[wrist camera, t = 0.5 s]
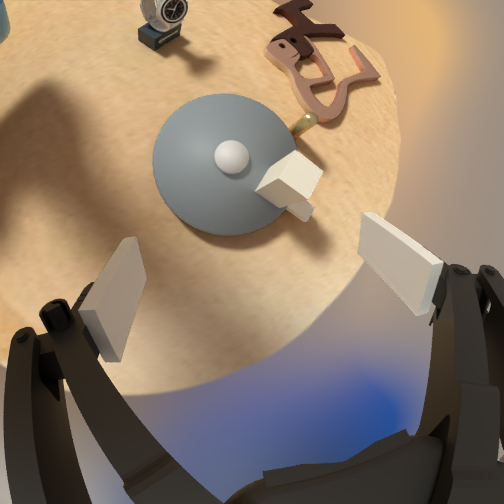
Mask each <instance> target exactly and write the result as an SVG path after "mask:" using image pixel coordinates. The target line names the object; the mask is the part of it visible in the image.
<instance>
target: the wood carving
mask: <svg viewBox="0 0 504 504" xmlns="http://www.w3.org/2000/svg"><path fill="white" fill-rule="evenodd" d="M312 5H313V3H312V2H310V1H309V0H292V1H290V2H288V3H286V4H283V5H281V6H279V7H278V8H276V9H275V10H274V12H273V13H274V14H281V15H282V16H284V17H285V18H286V19H287V20H288V21H289V22H290V23H291V24H292V25H293V27H291V28H289V29H287V30H285V31H284V32H282V33H280V34H278V35H277V36H275V37H274V38H273V39H272V40H271V42H270V43H269V44H268V45H267V46H266V48H265V49H264V51H263V54H264V56H265V57H266V58H267V59H268V60H269V61H270V62H271V63H272V64H273V65H274V66H276V67H277V68H279V69H280V70H281V71H282V72H284V73H285V75H286V76H287V77H288V79H289V81H290V85H291V89H292V92H293V94H294V96H295V98H296V99H297V101H298V103H299V104H300V106H301V107H302V109H303V110H304V111H305V113H307V112H309V111H312V112H315V113H316V114H317V115H318V118H319V122H320V123H327V122H330V121H331V120H333V119H335V118H336V117H337V116H338V115H339V114H340V113H341V112H342V110H343V108H344V105H345V102H346V97H347V87H348V85H350V84H353V83H356V82H363V81H372V80H376V79H378V78H379V77H381V76H380V75H379V73H378V72H377V71H376V69H375V68H374V67H373V66H372V64H371V63H370V62H369V61H368V60H367V58H366V57H365V56H364V55H363V54H362V53H361V51H360V50H359V49H358V48H357V47H356V46H355V45H353V46H352V47H351V48H349V52H350V54H351V56H352V58H353V59H354V61H355V63H356V65H357V66H358V68H359V70H360V71H361V72H360V73H358V74H356V75H353V76H350V77H347V78H345V79H343V80H342V81H341V82H340V83H339V84H338V86H337V92H336V96H335V98H334V101H333V102H332V104H331V105H330V106H329V107H326V106H324V105H323V104H321V103H320V102H319V101H318V100H317V98H316V97H315V96H314V94H313V93H312V91H311V89H310V88H313V87H317V86H322V85H326V84H329V83H331V82H332V81H333V80H334V79H335V78H334V76H333V74H332V72H331V70H330V68H329V67H328V65H327V63H326V62H325V60H324V59H323V57H322V55H321V54H320V52H319V51H318V49H317V48H316V46H315V45H314V44H313V43H312V41H311V40H310V39H309V37H335V38H341V39H342V38H343V37H344V36H345V34H344V33H343V32H342V31H341V30H340V29H339V28H338V27H337V26H336V25H335V24H314V23H313V22H312V21H311V20H309V19H308V18H307V17H306V16H305V15H304V14H302V12H301V11H303V10H308V9H310V8H311V7H312ZM309 55H310V56H309ZM308 56H309V57H308ZM307 57H308V58H310V59H312V60H313V61H314V62H315V63H316V64H317V66H318V67H319V69H320V71H321V72H322V74H323V76H324V77H321V78H316V79H306V78H304V77H303V76H301V75H300V74H299V72H298V71H297V70H296V68H295V63H296V62H297V61H298V60H304V59H306V58H307Z"/></svg>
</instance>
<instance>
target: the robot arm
mask: <svg viewBox="0 0 504 504" xmlns="http://www.w3.org/2000/svg"><path fill="white" fill-rule="evenodd" d="M9 33H10V23H9V18H8V14H7V11H6V7H5V4H4V1H3V0H0V44H1V43H2V42H3V41H4V40H5V39H6V38H7V37H8V35H9ZM358 254H359V255H360V256H361V257H362V258H363V259H364V260H365V261H366V263H368V264H369V265H370V266H371V268H372V269H373V270H374V271H375V272H376V273H377V274H378V275H379V276H380V277H381V278H382V279H383V280H384V281H385V282H386V283H387V284H388V285H389V286H390V287H391V289H392V290H393V291H394V292H395V293H396V294H397V295H398V296H399V297H400V298H401V299H402V300H403V302H404V303H405V304H406V305H407V306H408V307H409V308H410V309H411V310H412V312H414V314H415V315H416V316H419V315H422V314H425V313H428V311H429V308H430V305H431V303H433V304H434V305H435V306H436V308H435V310H434V313H433V316H432V319H431V321H430V323H429V325H430V326H431V324H432V323H433V337H432V351H431V361H430V369H429V377H428V384H427V391H426V396H425V402H424V407H423V412H422V417H421V421H420V425H419V428H418V430H417V432H416V434H415V435H412V436H409V435H408V433H407V431H406V429H404V430H402V431H400V432H398V433H395V434H393V435H391V436H388V437H386V438H383V439H381V440H378V441H376V442H375V443H373V444H372V445H370V446H369V447H367V448H366V449H364V450H363V451H361V452H360V453H358V454H357V455H355V456H353V457H351V458H350V459H348V460H346V461H344V462H338V463H324V464H300V465H296V466H291V467H286V468H281V469H275V470H269V471H263V476H264V478H263V479H260V480H257V481H255V482H253V483H251V484H248V485H246V486H245V487H244V488H242V489H240V490H238V491H237V492H236V493H235V494H233V495H232V496H231V497H230V498H229V499H228V500H227V501H226V502H225V503H224V504H504V455H503V456H502V457H501V458H500V461H497V458H498V449H499V436H500V439H501V444H502V447H503V450H504V279H503V277H502V276H501V275H500V273H499V272H498V271H497V270H496V269H495V268H494V267H492V266H490V265H481V266H480V269H479V272H478V274H471V272H470V270H468V269H467V268H466V267H464V266H461V265H458V264H451V265H450V266H449V265H447V264H446V263H445V262H444V261H442V260H441V259H440V258H438V257H437V256H435V255H434V254H433V253H432V252H430V251H429V250H428V249H426V248H425V247H424V246H421V245H420V244H419V243H417V242H416V241H414V240H413V239H412V238H410V237H409V236H407V235H406V234H405V233H403V232H402V231H400V230H399V229H397V228H396V227H394V226H393V225H391V224H390V223H388V222H387V221H385V220H384V219H382V218H381V217H379V216H378V215H376V214H375V213H373V212H364V213H362V216H361V227H360V237H359V246H358ZM146 281H147V276H146V273H145V269H144V265H143V261H142V257H141V254H140V250H139V245H138V241H137V237H136V236H134V237H127V238H124V239H123V240H122V242H121V243H120V244H119V246H118V247H117V249H116V250H115V252H114V253H113V255H112V256H111V258H110V259H109V261H108V262H107V264H106V265H105V267H104V268H103V270H102V272H101V273H100V275H99V276H98V278H97V279H96V281H95V282H91V283H90V284H89V285H87V286H86V287H85V288H84V289H83V291H82V293H81V294H80V296H79V297H78V299H77V302H75V304H74V306H73V307H72V309H71V310H70V307H69V305H68V303H67V301H66V300H65V299H55V300H53V301H50V302H49V303H47V304H46V305H44V306H43V307H42V309H41V310H40V312H39V316H40V318H41V320H42V322H43V324H44V326H45V328H46V329H47V331H48V333H45V334H41V335H37V334H36V333H35V331H34V329H33V328H32V327H25V328H22V329H20V330H18V331H17V332H16V333H15V335H14V336H13V338H12V340H11V345H10V351H9V357H8V364H7V372H6V382H5V393H4V448H5V461H6V470H7V476H8V483H9V489H10V494H11V499H12V504H92V502H91V499H90V497H89V494H88V491H87V488H86V485H85V482H84V479H83V476H82V473H81V470H80V467H79V463H78V459H77V455H76V451H75V447H74V443H73V439H72V435H71V430H70V425H69V419H68V413H67V408H66V400H65V393H64V384H63V379H66V382H67V384H68V386H69V389H70V391H71V393H72V395H73V397H74V399H75V402H76V404H77V406H78V408H79V410H80V411H81V413H82V416H83V417H84V419H85V421H86V423H87V425H88V427H89V429H90V430H91V432H92V434H93V435H94V437H95V439H96V441H97V442H98V444H99V446H100V447H101V449H102V450H103V452H104V453H105V455H106V456H107V458H108V460H109V461H110V463H111V464H112V466H113V467H114V469H115V470H116V471H117V473H118V474H119V475H120V477H121V478H122V480H123V482H124V486H123V487H124V489H125V491H126V493H127V494H128V496H129V497H130V498H131V500H132V501H133V502H134V503H135V504H223V503H222V502H221V501H220V500H218V499H217V498H216V497H215V496H214V495H212V494H211V493H210V492H209V491H208V490H206V489H205V488H204V487H203V486H202V485H201V484H200V483H199V482H197V481H196V480H195V479H194V478H193V477H192V476H191V475H190V474H189V473H188V472H187V471H186V470H185V469H183V467H182V466H181V465H179V463H178V462H177V461H176V460H174V458H173V457H172V456H171V455H170V454H169V453H168V452H167V451H166V450H165V449H164V448H163V447H162V446H161V445H160V444H159V442H158V441H157V440H156V439H155V438H154V437H153V436H152V434H151V433H150V432H149V431H148V430H147V429H146V427H145V426H144V425H143V424H142V422H141V421H140V420H139V419H138V417H137V416H136V415H135V414H134V412H133V411H132V410H131V408H130V407H129V406H128V404H127V403H126V402H125V400H124V399H123V397H122V396H121V395H120V393H119V392H118V390H117V389H116V388H115V386H114V385H113V383H112V382H111V380H110V379H109V377H108V376H107V374H106V373H105V371H104V369H103V368H102V366H101V365H100V363H99V361H98V360H97V358H98V356H99V353H100V354H101V356H102V358H103V360H104V361H105V362H121V359H122V356H123V352H124V349H125V345H126V342H127V338H128V335H129V332H130V328H131V325H132V322H133V319H134V316H135V313H136V310H137V307H138V304H139V301H140V298H141V295H142V292H143V289H144V286H145V283H146ZM490 302H491V307H490V311H489V313H488V311H487V308H488V306H489V303H490Z"/></svg>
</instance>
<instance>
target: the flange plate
mask: <svg viewBox="0 0 504 504" xmlns="http://www.w3.org/2000/svg"><path fill="white" fill-rule="evenodd" d="M153 172H154V178H155V181H156V185H157V188H158V190H159V192H160V195H161V196H162V198H163V200H164V201H165V203H166V204H167V206H168V207H169V208H170V209H171V211H172V212H173V213H174V214H175V215H177V216H178V217H179V218H180V219H181V220H183V221H184V222H185V223H187V224H188V225H190V226H192V227H194V228H196V229H198V230H201V231H204V232H206V233H211V234H215V235H225V236H229V235H241V234H246V233H250V232H253V231H257V230H259V229H261V228H263V227H265V226H267V225H269V224H270V223H272V222H273V221H275V220H276V219H277V218H278V217H279V216H280V215H281V214H282V213H283V212H284V211H285V210H287V211H289V212H290V213H292V214H293V215H294V216H296V217H297V218H299V219H300V220H301V221H303V222H308V220H309V218H310V216H311V214H312V212H313V210H314V208H315V207H314V206H313V205H311V204H310V203H309V202H307V201H306V200H309V198H310V196H311V194H312V192H313V190H314V188H315V186H316V184H317V183H318V181H319V179H320V177H321V175H322V173H323V171H322V170H321V169H320V168H319V167H317V166H316V165H315V164H314V163H312V162H311V161H310V160H308V159H307V158H306V157H304V156H303V155H302V154H300V153H299V152H298V149H297V146H296V143H295V140H294V138H293V136H292V134H291V132H290V131H289V129H288V128H287V126H286V125H285V124H284V122H283V121H282V120H281V119H280V118H279V117H278V116H277V115H276V114H275V113H274V112H273V111H271V110H270V109H269V108H267V107H266V106H264V105H263V104H261V103H259V102H257V101H255V100H252V99H250V98H247V97H244V96H239V95H234V94H213V95H207V96H203V97H200V98H197V99H195V100H192V101H190V102H188V103H187V104H185V105H183V106H182V107H180V108H179V109H178V110H177V111H175V112H174V113H173V114H172V115H171V116H170V117H169V118H168V120H167V121H166V122H165V124H164V125H163V127H162V128H161V130H160V132H159V134H158V136H157V139H156V142H155V146H154V151H153Z"/></svg>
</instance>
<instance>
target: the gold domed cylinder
mask: <svg viewBox="0 0 504 504" xmlns="http://www.w3.org/2000/svg"><path fill="white" fill-rule="evenodd" d="M318 122H319V118H318V115H317V114H316V113H315V112H312V111H309V112H307V113H306V114H305V115H303V116H302V117H301V118H300V119H299V120H297V121H296V122H295V123H294V124H293V125H292V126H290V127H289V128H288V129H289V131H290V132H291V134H292V136H293V138H294V140H295V139H296V138H298V137H299V136H300V135H302V134H303V133H304V132H306V131H307V130H309V129H310V128H311V127H313V126H314V125H315V124H317V123H318Z"/></svg>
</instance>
